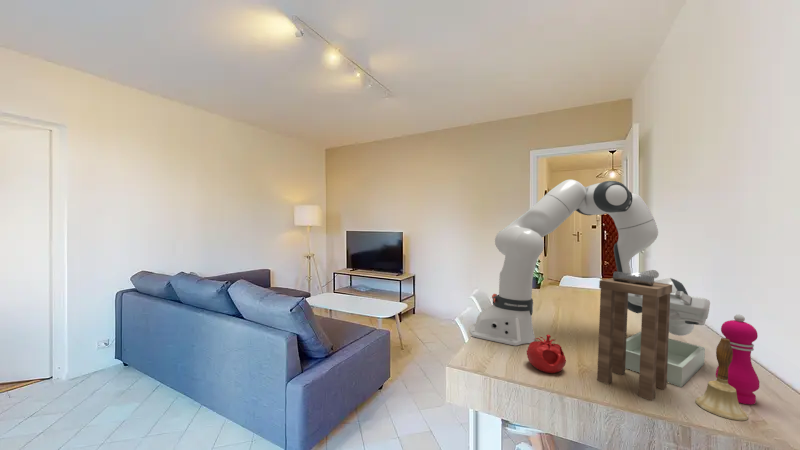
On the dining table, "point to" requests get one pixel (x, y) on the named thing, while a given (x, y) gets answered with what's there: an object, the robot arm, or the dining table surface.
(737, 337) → the pepper mill
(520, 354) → the dining table surface
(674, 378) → the tray
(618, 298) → the stand
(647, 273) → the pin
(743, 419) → the hand bell
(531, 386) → the dining table surface
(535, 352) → the pomegranate
